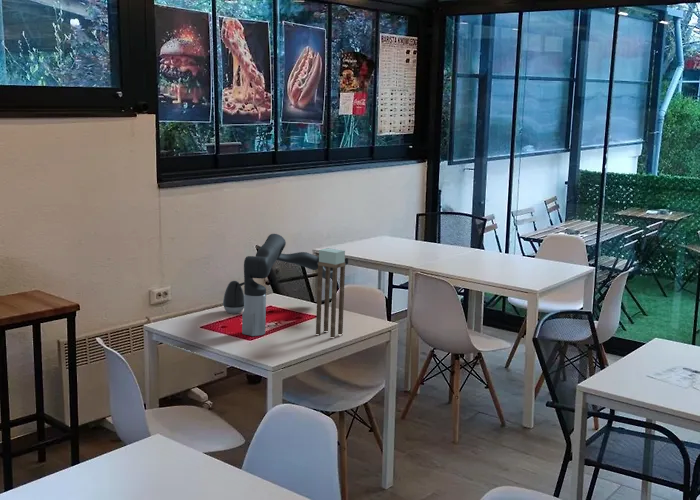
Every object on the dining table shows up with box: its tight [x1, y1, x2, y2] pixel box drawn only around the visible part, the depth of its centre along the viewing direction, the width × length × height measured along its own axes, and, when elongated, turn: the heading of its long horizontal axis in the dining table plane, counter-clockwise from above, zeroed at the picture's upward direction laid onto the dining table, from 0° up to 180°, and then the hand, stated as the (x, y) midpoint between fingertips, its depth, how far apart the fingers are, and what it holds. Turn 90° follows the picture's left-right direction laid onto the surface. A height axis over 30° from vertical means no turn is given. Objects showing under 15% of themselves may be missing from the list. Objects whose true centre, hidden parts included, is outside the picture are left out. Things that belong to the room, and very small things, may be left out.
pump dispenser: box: [222, 280, 244, 315], centre depth 368 cm, size 10×10×15 cm
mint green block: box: [318, 248, 346, 265], centre depth 337 cm, size 15×15×5 cm
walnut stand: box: [315, 262, 346, 338], centre depth 335 cm, size 7×9×32 cm
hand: (333, 259), depth 356 cm, fingers open, 8 cm apart
